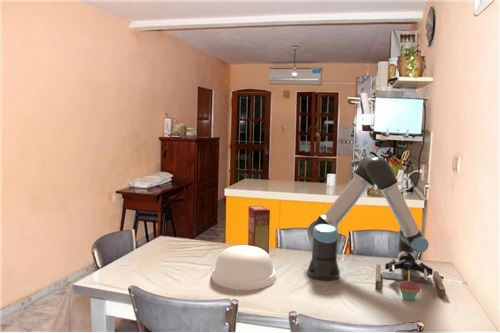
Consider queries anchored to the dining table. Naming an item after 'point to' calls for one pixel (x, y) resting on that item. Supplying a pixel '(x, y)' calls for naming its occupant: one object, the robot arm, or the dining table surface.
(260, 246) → the food packaging
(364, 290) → the dining table surface
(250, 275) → the dome cover
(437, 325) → the dining table surface
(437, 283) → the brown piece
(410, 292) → the cupcake
